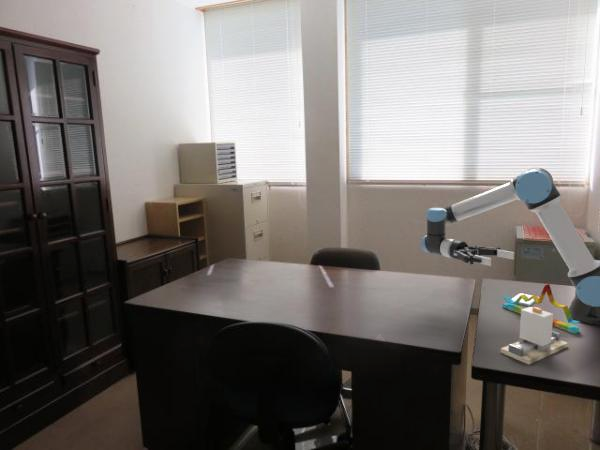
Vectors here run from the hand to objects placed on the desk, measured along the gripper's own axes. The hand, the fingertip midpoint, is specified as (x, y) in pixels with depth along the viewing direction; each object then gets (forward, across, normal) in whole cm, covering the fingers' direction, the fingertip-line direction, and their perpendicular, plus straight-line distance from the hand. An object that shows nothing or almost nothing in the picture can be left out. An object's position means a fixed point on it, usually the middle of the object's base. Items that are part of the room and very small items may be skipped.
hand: (502, 259), depth 166 cm
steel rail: (+17, +6, -26) cm, 31 cm away
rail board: (+17, +6, -27) cm, 33 cm away
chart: (+3, -20, -28) cm, 34 cm away
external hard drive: (-12, -35, -28) cm, 46 cm away
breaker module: (+17, +6, -26) cm, 31 cm away
